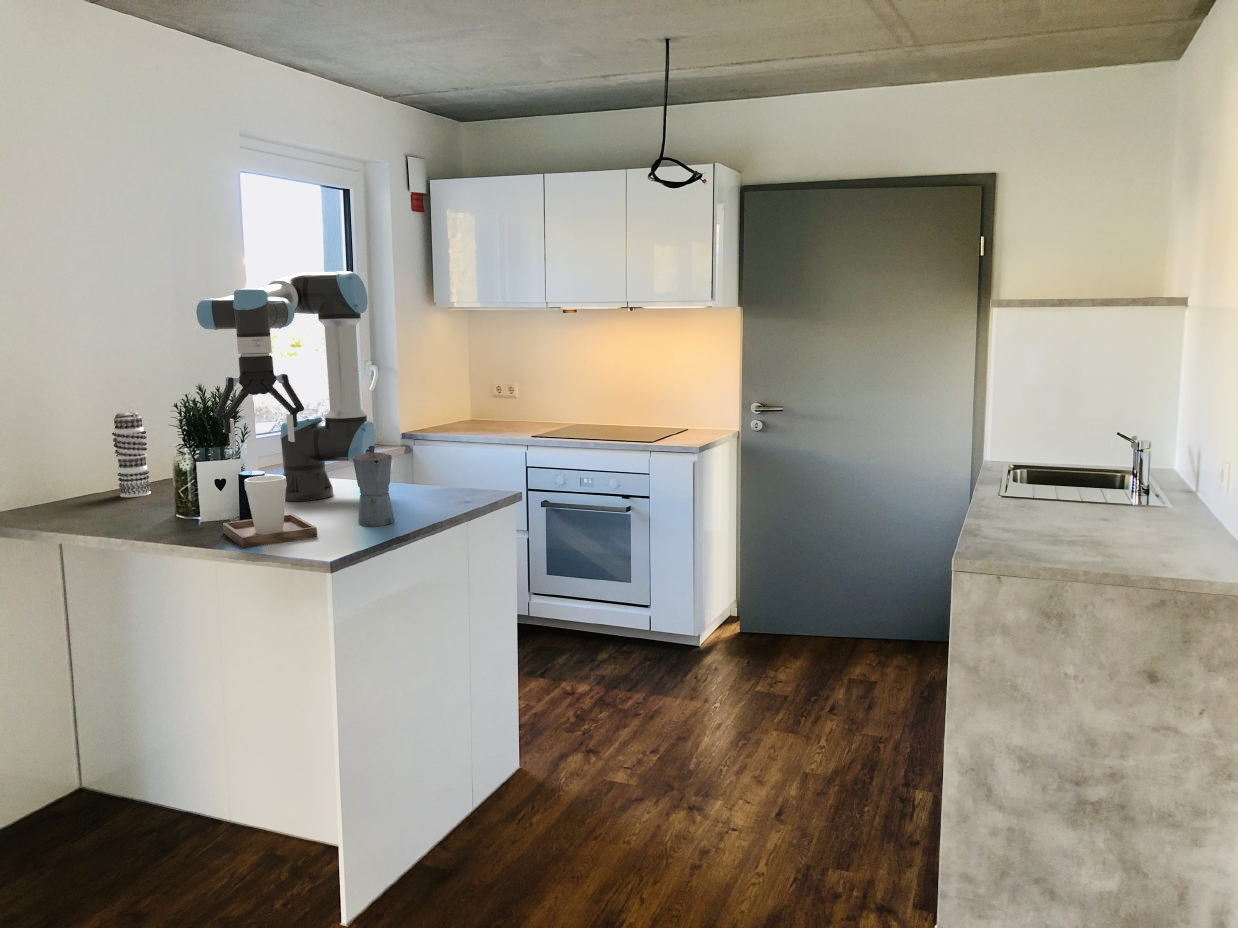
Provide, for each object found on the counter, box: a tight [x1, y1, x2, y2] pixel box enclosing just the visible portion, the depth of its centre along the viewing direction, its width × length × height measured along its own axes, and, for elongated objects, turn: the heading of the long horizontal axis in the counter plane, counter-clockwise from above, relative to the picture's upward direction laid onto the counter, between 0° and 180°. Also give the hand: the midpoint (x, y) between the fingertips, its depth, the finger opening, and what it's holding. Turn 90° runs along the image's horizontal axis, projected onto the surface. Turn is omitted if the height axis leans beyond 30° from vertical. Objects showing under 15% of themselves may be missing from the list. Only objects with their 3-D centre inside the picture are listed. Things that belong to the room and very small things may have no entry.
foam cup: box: [243, 474, 287, 534], centre depth 232 cm, size 10×9×13 cm
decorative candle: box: [111, 411, 152, 498], centre depth 289 cm, size 9×9×25 cm
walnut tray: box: [222, 513, 318, 549], centre depth 233 cm, size 17×20×2 cm
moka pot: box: [352, 445, 395, 527], centre depth 243 cm, size 10×15×20 cm, turn 27°
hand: (262, 444), depth 229 cm, fingers open, 13 cm apart
